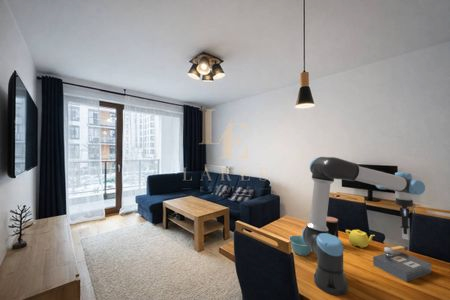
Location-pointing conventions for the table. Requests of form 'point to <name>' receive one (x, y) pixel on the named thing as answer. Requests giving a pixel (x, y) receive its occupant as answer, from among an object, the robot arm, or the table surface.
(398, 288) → the table surface
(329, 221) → the coffee jar
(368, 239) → the teapot
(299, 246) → the bowl
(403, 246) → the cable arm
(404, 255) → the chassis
